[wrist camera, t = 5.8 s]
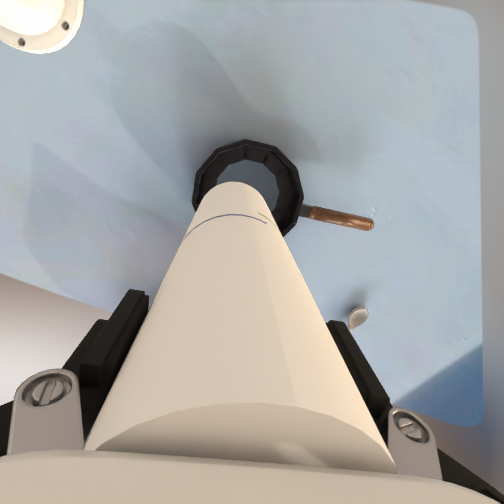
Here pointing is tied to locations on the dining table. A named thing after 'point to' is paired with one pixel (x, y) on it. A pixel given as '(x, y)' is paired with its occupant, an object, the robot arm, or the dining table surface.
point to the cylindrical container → (238, 356)
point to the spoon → (357, 317)
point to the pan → (286, 179)
